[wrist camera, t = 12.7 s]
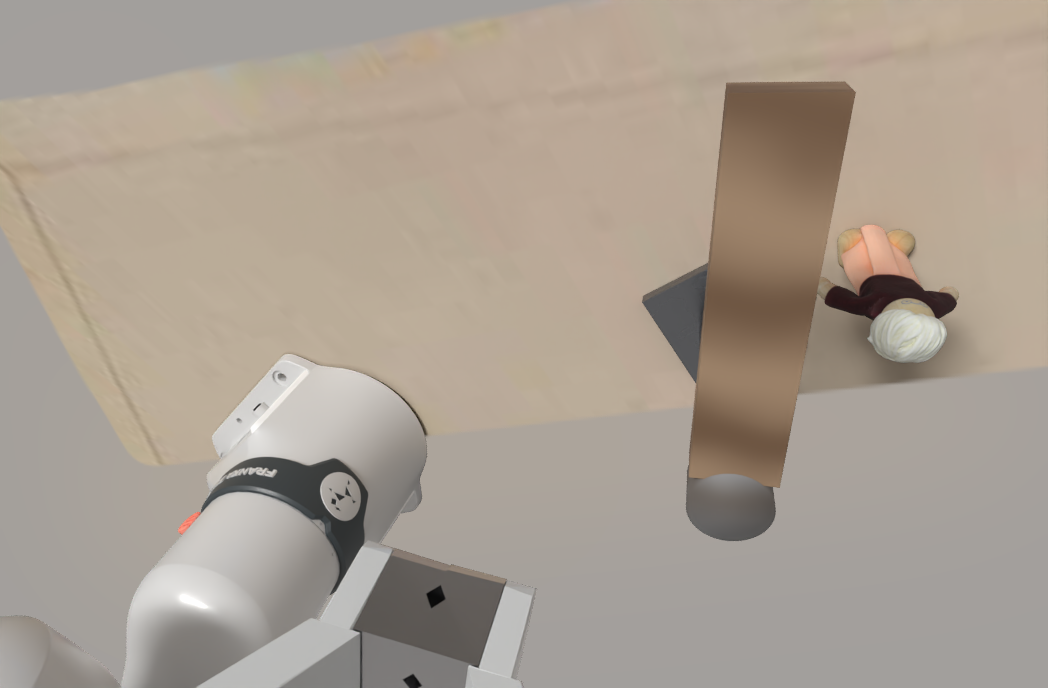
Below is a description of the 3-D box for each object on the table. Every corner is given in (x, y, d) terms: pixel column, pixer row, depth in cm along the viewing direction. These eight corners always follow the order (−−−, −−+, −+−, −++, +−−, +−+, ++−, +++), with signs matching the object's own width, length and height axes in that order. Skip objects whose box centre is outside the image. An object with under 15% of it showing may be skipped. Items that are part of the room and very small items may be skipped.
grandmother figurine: (934, 212, 41) (1013, 304, 31) (929, 269, 43) (1003, 375, 33) (799, 227, 44) (830, 317, 33) (800, 280, 45) (830, 383, 35)
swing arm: (765, 510, 34) (769, 546, 32) (684, 500, 35) (683, 534, 33) (843, 80, 24) (856, 93, 22) (726, 81, 25) (728, 93, 23)
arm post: (698, 378, 51) (695, 547, 37) (643, 296, 49) (617, 442, 34) (801, 334, 47) (843, 502, 33) (747, 242, 45) (767, 381, 31)
